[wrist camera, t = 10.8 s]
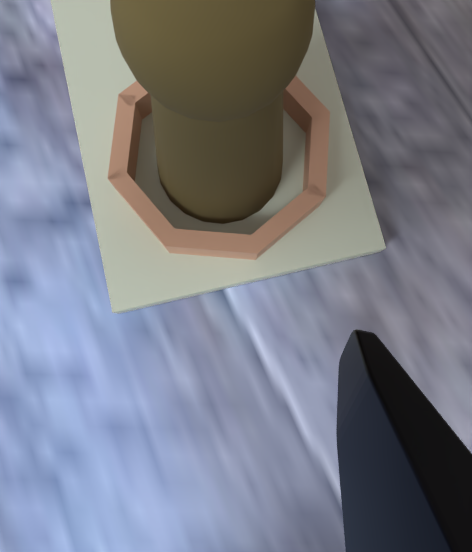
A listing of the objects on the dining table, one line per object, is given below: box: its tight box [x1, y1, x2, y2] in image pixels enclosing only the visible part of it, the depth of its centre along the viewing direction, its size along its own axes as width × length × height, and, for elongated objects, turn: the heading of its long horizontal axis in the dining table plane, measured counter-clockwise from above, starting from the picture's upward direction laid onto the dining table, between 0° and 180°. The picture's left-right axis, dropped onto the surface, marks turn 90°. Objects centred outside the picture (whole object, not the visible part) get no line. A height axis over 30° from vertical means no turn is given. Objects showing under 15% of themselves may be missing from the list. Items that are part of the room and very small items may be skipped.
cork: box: [110, 0, 315, 224], centre depth 15 cm, size 6×6×11 cm
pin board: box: [51, 0, 386, 314], centre depth 19 cm, size 23×13×6 cm, turn 14°
